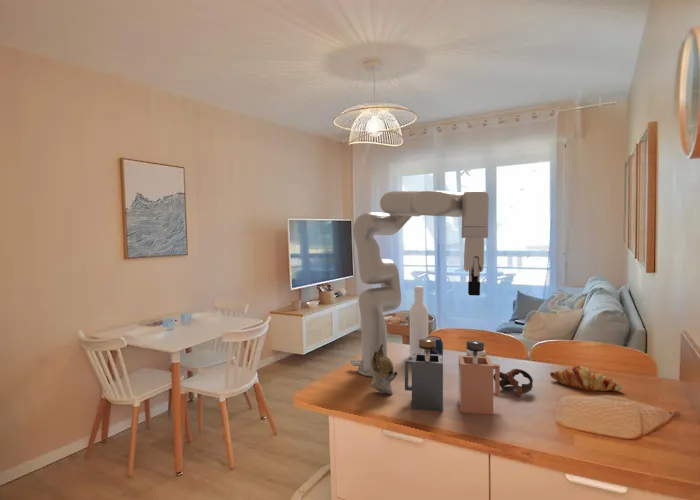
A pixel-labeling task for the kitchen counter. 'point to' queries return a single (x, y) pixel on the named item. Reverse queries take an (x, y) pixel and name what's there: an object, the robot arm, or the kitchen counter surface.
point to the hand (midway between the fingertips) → (474, 294)
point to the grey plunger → (475, 348)
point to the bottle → (418, 322)
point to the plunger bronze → (427, 347)
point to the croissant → (585, 379)
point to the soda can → (437, 346)
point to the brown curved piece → (509, 380)
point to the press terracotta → (477, 385)
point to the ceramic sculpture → (382, 372)
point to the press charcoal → (426, 382)
